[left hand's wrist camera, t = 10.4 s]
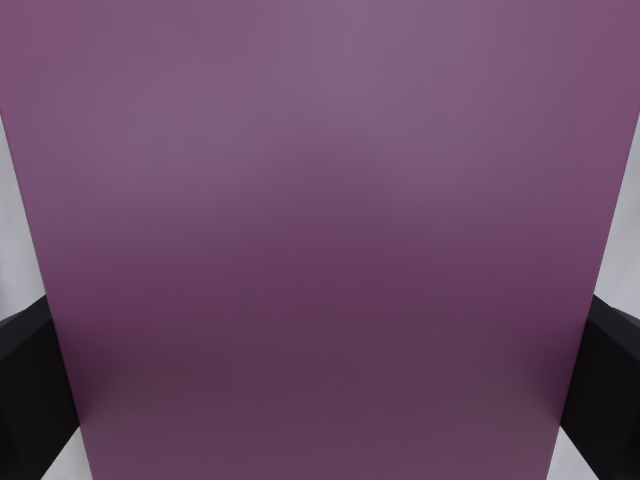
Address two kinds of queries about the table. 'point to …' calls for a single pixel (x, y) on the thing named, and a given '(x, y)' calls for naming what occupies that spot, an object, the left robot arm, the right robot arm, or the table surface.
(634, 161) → the table surface
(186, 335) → the cabinet
